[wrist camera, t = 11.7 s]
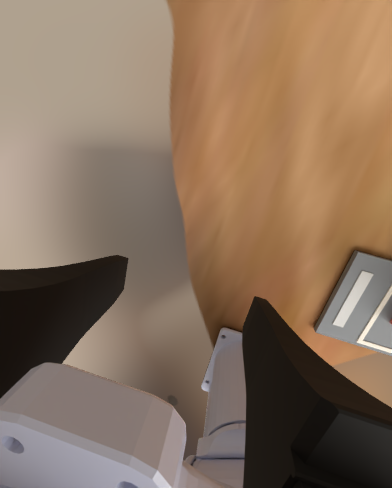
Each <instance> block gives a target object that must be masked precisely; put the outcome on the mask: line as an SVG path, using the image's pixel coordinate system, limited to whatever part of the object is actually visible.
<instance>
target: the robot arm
mask: <svg viewBox="0 0 392 488" xmlns="http://www.w3.org/2000/svg"><path fill="white" fill-rule="evenodd" d="M127 264H128V258H126V257H123V256H119V255H115V256H109V257H104V258H100V259H96V260H91V261H86V262H81V263H76V264H70V265H65V266H58V267H49V268H39V269H21V270H20V269H19V270H0V488H392V408H391V407H389V406H388V405H386V404H384V403H383V402H381V401H379V400H378V399H376V398H375V397H373V396H372V395H370V394H369V393H367V392H366V391H364V390H363V389H361V388H360V387H358V386H357V385H356V384H354V383H352V382H351V381H350V380H348V379H347V378H346V377H345V376H343V375H342V374H340V373H339V372H338V371H337V370H335V369H334V368H333V367H332V366H330V365H329V364H328V363H327V362H325V361H324V360H323V359H322V358H321V357H320V356H318V355H317V354H316V353H315V352H314V351H313V350H312V349H311V348H310V347H309V346H307V345H306V344H305V343H304V342H303V341H302V340H301V339H300V338H299V336H298V335H297V334H296V333H295V332H294V331H293V330H292V329H291V328H290V327H289V326H288V325H287V323H286V322H285V321H284V320H283V319H282V318H281V316H280V315H279V314H278V313H277V311H276V310H275V309H274V308H273V307H272V305H271V304H270V303H269V302H268V301H267V300H266V299H262V298H259V297H256V296H255V297H254V299H253V302H252V305H251V307H250V310H249V312H248V315H247V317H246V320H245V322H244V325H243V333H241V332H238V331H235V330H231V329H228V328H222V329H221V330H220V333H219V336H218V339H217V341H216V344H215V347H214V350H213V353H212V356H211V359H210V362H209V365H208V367H207V370H206V373H205V376H204V379H203V382H202V386H201V388H202V389H203V390H205V391H208V392H209V394H208V403H207V411H206V420H205V429H204V437H203V438H199V440H198V447H197V455H196V456H194V455H192V456H189V457H187V459H186V460H185V461H183V455H184V450H185V443H186V424H185V422H184V421H183V419H182V418H181V417H180V415H179V414H178V413H177V411H176V410H175V409H174V407H173V406H172V405H171V404H169V403H167V402H165V401H164V400H162V399H160V398H158V397H157V396H155V395H152V394H150V393H147V392H144V391H141V390H138V389H135V388H132V387H130V386H127V385H124V384H121V383H118V382H115V381H112V380H110V379H107V378H104V377H101V376H98V375H95V374H92V373H89V372H86V371H84V370H81V369H78V368H75V367H72V366H69V365H65V364H62V363H63V361H64V360H65V359H66V357H67V356H68V355H69V353H70V352H71V351H72V349H73V348H74V347H75V345H76V344H77V343H78V342H79V340H80V339H81V338H82V337H83V336H84V334H85V333H86V332H87V331H88V330H89V329H90V328H91V327H92V326H93V325H94V324H95V323H96V322H97V321H98V320H99V319H100V318H101V316H102V315H103V314H104V313H105V312H106V311H107V310H108V309H109V308H110V307H111V306H112V305H113V304H114V302H115V301H116V300H117V298H118V297H119V295H120V294H121V293H122V291H123V289H124V284H125V277H126V270H127ZM222 335H225V336H222ZM207 380H208V381H207Z"/></svg>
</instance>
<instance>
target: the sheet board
mask: <svg viewBox="0 0 392 488" xmlns="http://www.w3.org/2000/svg"><path fill="white" fill-rule="evenodd" d="M391 319H392V260H389V259H385V258H382V257H378V256H375V255H371V254H367V253H364V252H360V251H356V250H355V251H354V253H353V255H352V256H351V258H350V260H349V262H348V264H347V266H346V268H345V270H344V272H343V274H342V275H341V277H340V279H339V281H338V283H337V285H336V287H335V289H334V291H333V293H332V295H331V296H330V298H329V300H328V302H327V304H326V306H325V308H324V310H323V312H322V314H321V316H320V317H319V319H318V321H317V323H316V325H315V327H314V330H315V332H316V333H319V334H322V335H325V336H329V337H332V338H335V339H338V340H342V341H345V342H348V343H351V344H355V345H358V346H361V347H364V348H367V349H371V350H374V351H377V352H380V353H384V354H387V355H390V356H392V324H391V323H390V320H391Z"/></svg>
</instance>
